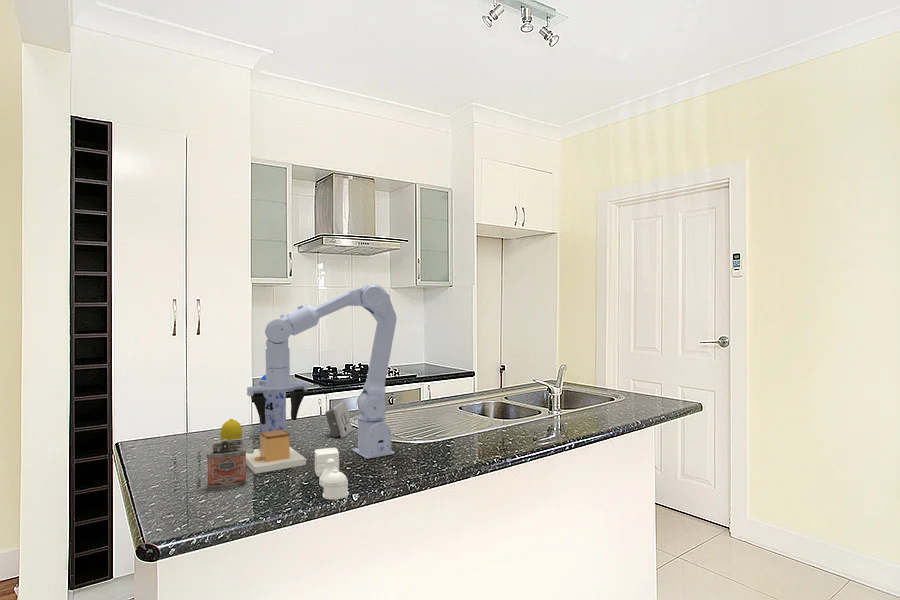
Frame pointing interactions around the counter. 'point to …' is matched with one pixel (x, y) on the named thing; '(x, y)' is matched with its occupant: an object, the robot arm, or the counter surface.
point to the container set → (330, 474)
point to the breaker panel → (262, 466)
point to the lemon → (231, 430)
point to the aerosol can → (274, 410)
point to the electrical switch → (339, 420)
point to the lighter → (226, 465)
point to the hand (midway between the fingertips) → (278, 421)
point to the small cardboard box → (274, 445)
